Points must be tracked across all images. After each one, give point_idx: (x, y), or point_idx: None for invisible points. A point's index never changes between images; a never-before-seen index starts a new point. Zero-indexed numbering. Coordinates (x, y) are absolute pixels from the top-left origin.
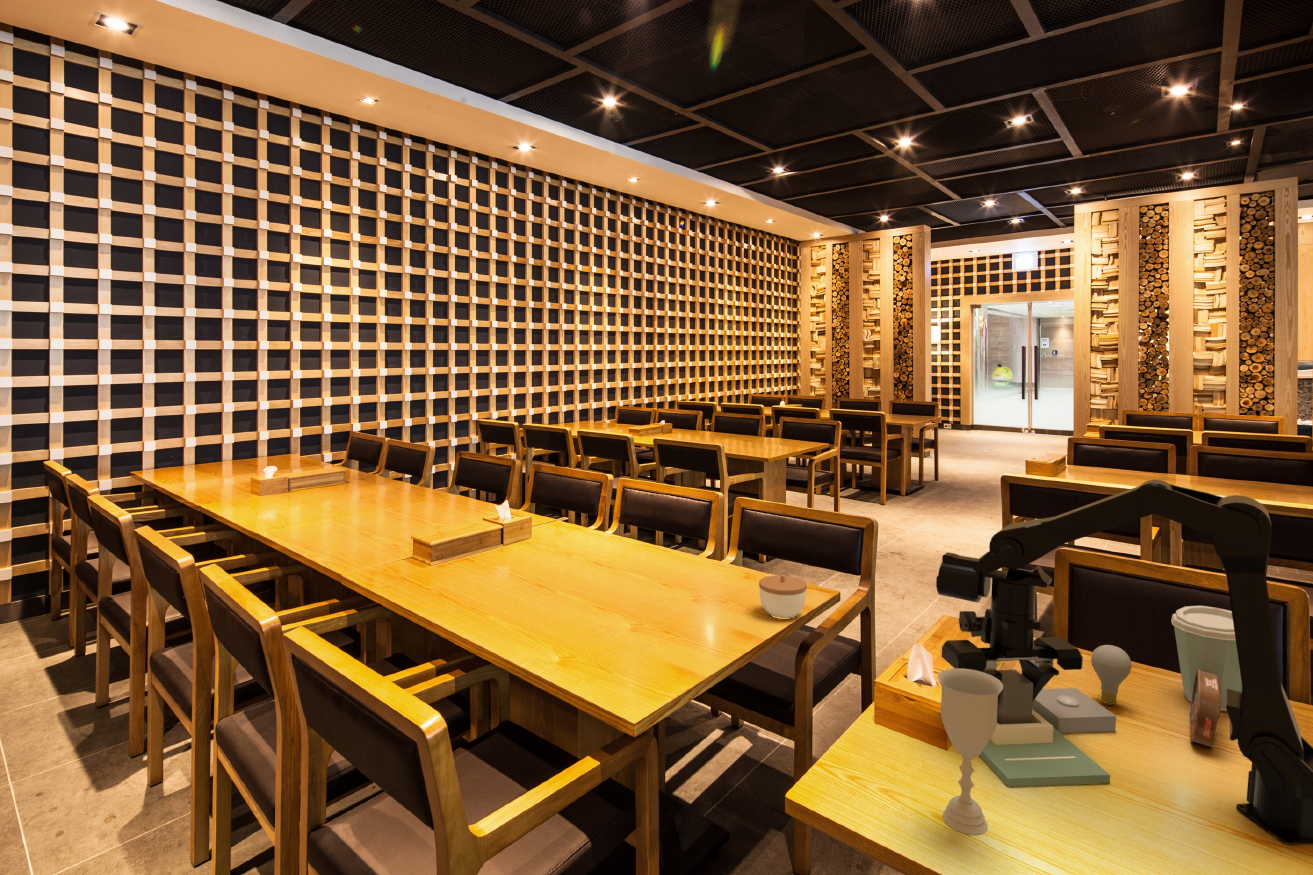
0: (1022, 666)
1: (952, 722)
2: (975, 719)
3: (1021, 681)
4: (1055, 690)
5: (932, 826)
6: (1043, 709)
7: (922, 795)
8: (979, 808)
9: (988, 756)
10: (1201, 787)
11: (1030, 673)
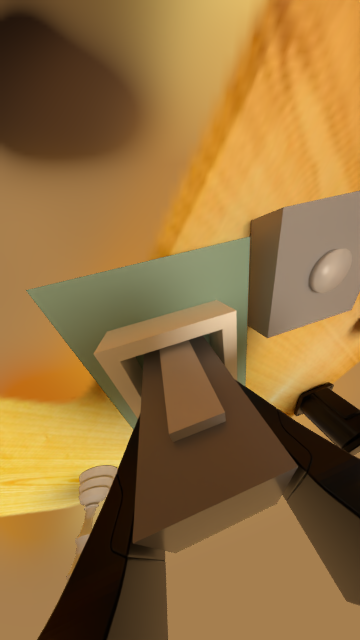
0: (348, 521)
1: None
2: None
3: (248, 514)
4: (352, 205)
5: (71, 488)
6: (265, 296)
7: (56, 471)
8: (106, 495)
9: (130, 424)
10: (302, 378)
11: (317, 523)
